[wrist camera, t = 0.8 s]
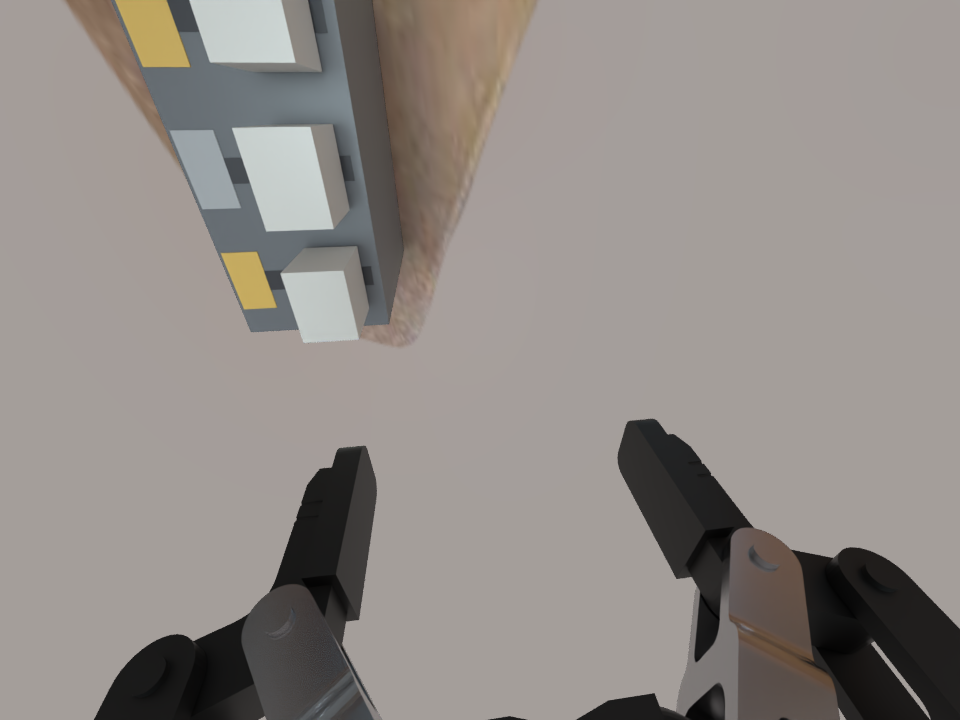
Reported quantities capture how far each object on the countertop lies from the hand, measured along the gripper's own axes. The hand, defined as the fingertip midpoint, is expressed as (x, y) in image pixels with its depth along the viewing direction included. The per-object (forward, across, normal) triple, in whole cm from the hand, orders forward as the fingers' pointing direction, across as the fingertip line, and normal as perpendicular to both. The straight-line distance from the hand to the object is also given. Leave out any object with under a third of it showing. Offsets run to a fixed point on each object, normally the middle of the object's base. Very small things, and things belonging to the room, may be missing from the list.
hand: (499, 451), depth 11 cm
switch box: (+31, +10, -6) cm, 33 cm away
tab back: (+14, +8, 0) cm, 16 cm away
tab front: (+14, +8, -12) cm, 20 cm away
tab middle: (+14, +8, -6) cm, 17 cm away
